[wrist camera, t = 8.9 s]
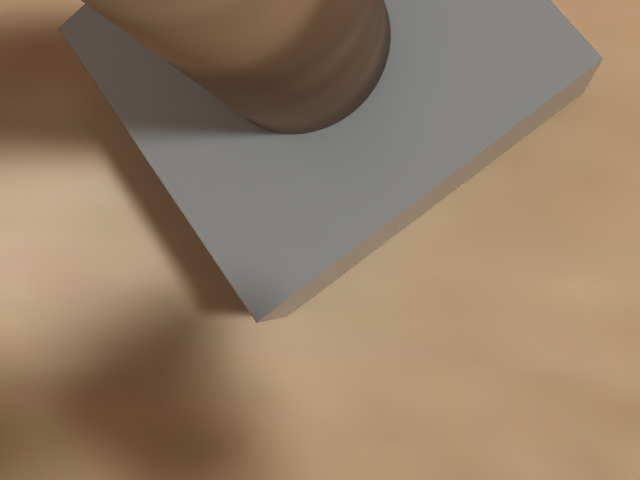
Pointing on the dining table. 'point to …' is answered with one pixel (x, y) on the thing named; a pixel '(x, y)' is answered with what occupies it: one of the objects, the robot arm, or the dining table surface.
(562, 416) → the dining table surface
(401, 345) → the dining table surface
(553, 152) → the dining table surface
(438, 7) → the tile
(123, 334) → the dining table surface
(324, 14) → the post
